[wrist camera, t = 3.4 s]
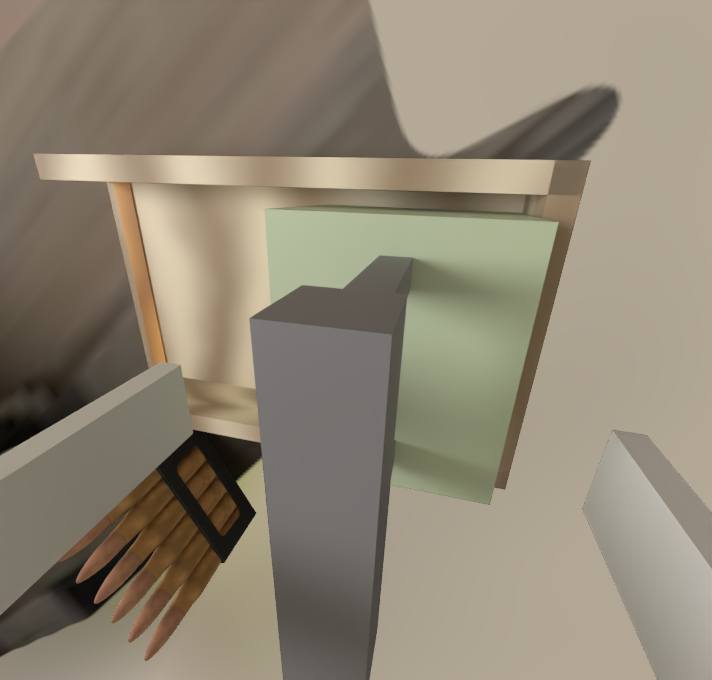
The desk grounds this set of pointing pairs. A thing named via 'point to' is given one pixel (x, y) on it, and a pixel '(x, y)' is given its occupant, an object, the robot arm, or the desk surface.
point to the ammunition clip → (170, 536)
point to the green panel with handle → (380, 394)
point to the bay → (250, 259)
